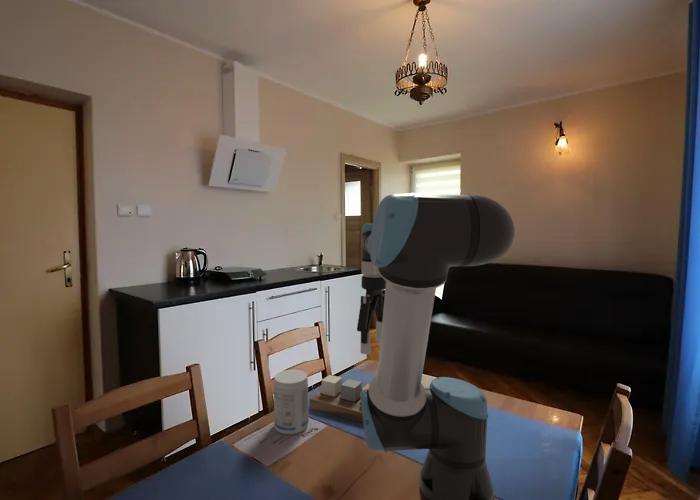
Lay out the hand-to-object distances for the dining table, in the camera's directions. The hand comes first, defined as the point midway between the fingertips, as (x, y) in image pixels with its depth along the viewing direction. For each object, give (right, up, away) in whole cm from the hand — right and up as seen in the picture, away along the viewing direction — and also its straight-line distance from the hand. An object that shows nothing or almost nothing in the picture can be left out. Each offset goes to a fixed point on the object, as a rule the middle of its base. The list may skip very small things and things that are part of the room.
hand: (373, 347), depth 110 cm
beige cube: (-13, -16, +7) cm, 22 cm away
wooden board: (-7, -20, +4) cm, 21 cm away
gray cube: (-7, -17, +4) cm, 18 cm away
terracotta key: (0, -17, +1) cm, 17 cm away
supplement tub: (-24, -20, -7) cm, 32 cm away
